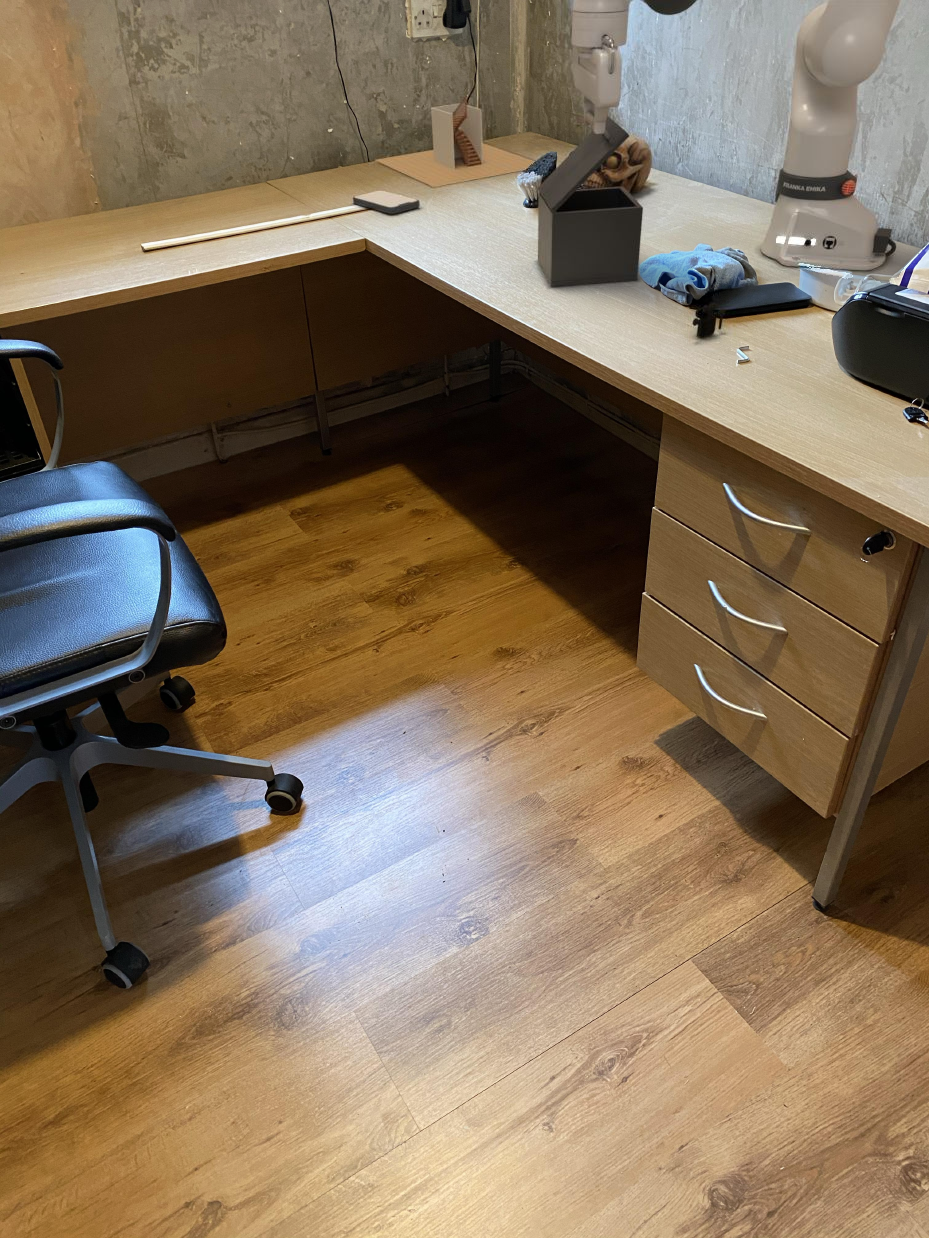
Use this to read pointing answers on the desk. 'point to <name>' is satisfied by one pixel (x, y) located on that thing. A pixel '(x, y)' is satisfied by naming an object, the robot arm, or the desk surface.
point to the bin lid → (582, 162)
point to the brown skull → (624, 167)
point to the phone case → (386, 202)
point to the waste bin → (590, 237)
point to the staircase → (456, 150)
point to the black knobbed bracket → (707, 320)
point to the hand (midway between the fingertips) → (593, 128)
